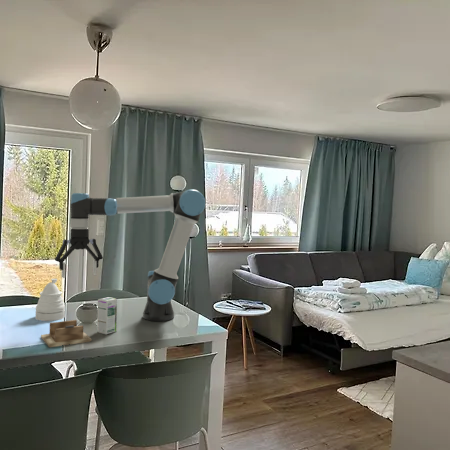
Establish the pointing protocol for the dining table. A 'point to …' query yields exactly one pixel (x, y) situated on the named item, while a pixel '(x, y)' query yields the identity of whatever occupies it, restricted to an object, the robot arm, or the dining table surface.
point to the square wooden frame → (65, 334)
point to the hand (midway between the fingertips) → (79, 276)
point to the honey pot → (50, 303)
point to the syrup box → (107, 315)
